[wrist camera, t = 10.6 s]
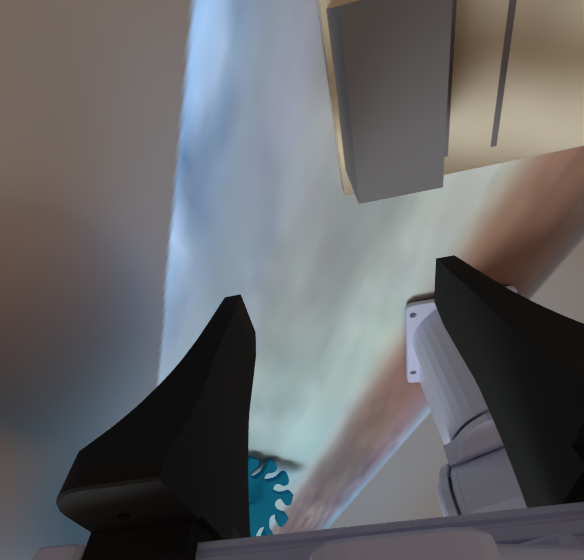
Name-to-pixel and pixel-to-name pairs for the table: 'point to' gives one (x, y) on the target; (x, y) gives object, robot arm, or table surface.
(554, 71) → the plank
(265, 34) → the table surface
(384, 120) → the block
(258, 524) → the gear
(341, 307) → the table surface
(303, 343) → the table surface
